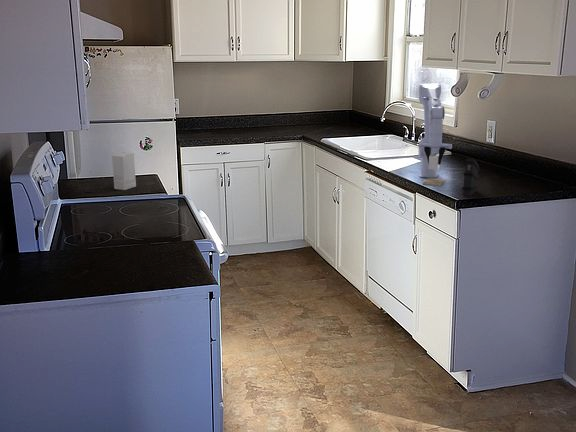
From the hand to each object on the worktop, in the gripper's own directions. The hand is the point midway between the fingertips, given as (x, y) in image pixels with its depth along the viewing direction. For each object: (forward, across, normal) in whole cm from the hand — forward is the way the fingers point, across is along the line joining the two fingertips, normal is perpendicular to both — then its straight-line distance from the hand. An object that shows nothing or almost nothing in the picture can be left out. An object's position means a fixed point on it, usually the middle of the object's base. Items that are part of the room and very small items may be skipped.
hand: (434, 164), depth 297 cm
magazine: (+9, +18, -15) cm, 25 cm away
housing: (+2, 0, 0) cm, 2 cm away
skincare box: (+9, -130, -52) cm, 140 cm away
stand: (+9, 0, 0) cm, 9 cm away
